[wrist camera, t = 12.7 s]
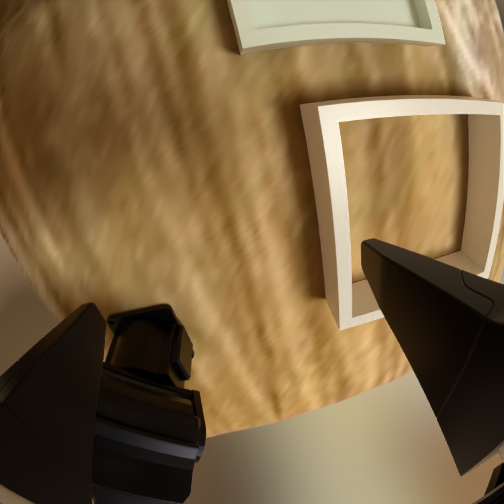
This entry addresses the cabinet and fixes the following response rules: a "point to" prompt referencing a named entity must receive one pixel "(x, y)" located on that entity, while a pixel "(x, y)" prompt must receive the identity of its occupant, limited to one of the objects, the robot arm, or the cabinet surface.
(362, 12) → the sage tray
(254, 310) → the cabinet surface
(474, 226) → the white square frame
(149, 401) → the robot arm
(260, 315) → the cabinet surface
